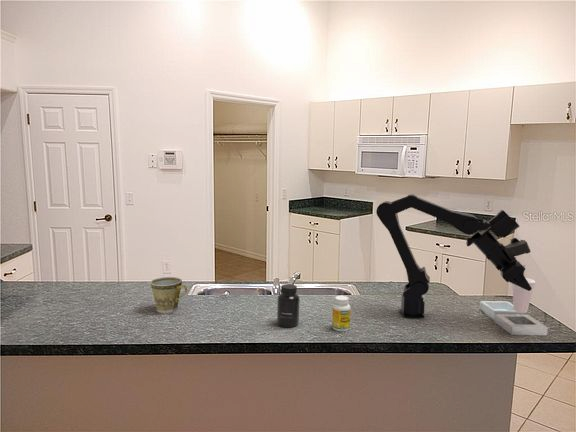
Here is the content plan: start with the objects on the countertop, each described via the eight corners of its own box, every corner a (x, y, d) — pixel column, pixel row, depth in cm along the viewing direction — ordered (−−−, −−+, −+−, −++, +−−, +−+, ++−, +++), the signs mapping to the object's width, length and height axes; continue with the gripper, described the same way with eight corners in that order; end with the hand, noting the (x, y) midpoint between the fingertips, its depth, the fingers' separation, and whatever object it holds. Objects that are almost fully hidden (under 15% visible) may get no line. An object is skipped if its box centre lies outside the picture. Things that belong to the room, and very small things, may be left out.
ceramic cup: (144, 312, 134) (143, 283, 133) (164, 303, 144) (163, 275, 142) (177, 318, 130) (176, 288, 128) (195, 308, 139) (195, 280, 137)
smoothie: (531, 308, 127) (535, 264, 125) (533, 315, 121) (538, 269, 119) (507, 305, 130) (512, 262, 128) (509, 312, 124) (513, 266, 122)
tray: (493, 320, 132) (494, 311, 132) (479, 309, 142) (480, 301, 141) (523, 320, 132) (524, 311, 132) (507, 309, 142) (508, 301, 141)
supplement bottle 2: (342, 323, 128) (343, 293, 126) (353, 329, 123) (354, 298, 122) (328, 327, 125) (329, 296, 124) (340, 333, 120) (341, 301, 119)
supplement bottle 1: (283, 329, 122) (283, 290, 121) (273, 321, 128) (273, 284, 127) (303, 325, 126) (303, 287, 124) (292, 318, 132) (293, 281, 130)
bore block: (511, 335, 121) (512, 327, 120) (493, 321, 131) (494, 313, 131) (546, 335, 121) (547, 327, 121) (526, 321, 131) (527, 314, 131)
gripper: (520, 236, 114) (561, 278, 113) (507, 226, 132) (543, 263, 130) (486, 260, 118) (526, 302, 116) (478, 248, 136) (513, 284, 134)
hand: (527, 286), depth 124 cm, fingers closed on smoothie, 6 cm apart
